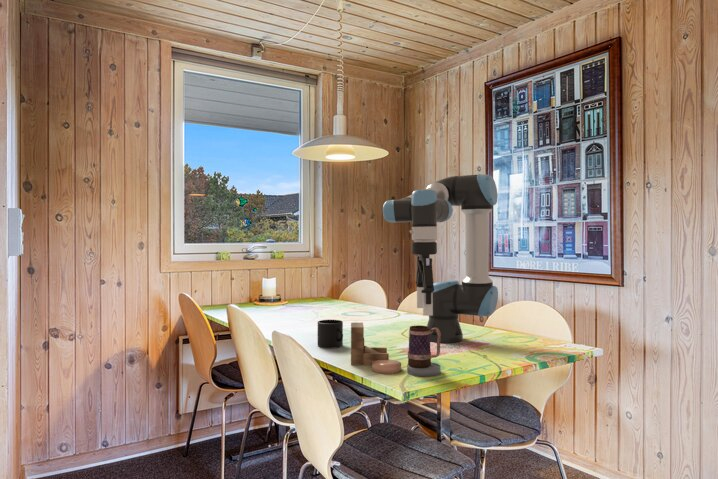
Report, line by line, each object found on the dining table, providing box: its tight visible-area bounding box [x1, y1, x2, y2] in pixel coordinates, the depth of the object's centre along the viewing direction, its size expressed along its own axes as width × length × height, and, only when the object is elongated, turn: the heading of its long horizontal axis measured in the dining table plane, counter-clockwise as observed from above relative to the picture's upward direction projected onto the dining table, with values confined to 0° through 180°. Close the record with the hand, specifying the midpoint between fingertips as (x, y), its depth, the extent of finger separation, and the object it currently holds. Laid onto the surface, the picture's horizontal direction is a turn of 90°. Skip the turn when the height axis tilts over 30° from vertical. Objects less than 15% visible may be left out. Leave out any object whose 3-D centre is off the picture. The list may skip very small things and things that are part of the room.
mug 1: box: [317, 319, 344, 349], centre depth 187 cm, size 9×12×9 cm
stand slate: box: [406, 361, 441, 378], centre depth 151 cm, size 10×10×2 cm
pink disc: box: [371, 359, 402, 375], centre depth 154 cm, size 9×9×2 cm
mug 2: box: [407, 324, 441, 368], centre depth 150 cm, size 10×7×12 cm
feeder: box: [350, 322, 390, 366], centre depth 164 cm, size 12×9×12 cm
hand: (424, 311), depth 151 cm, fingers open, 13 cm apart
